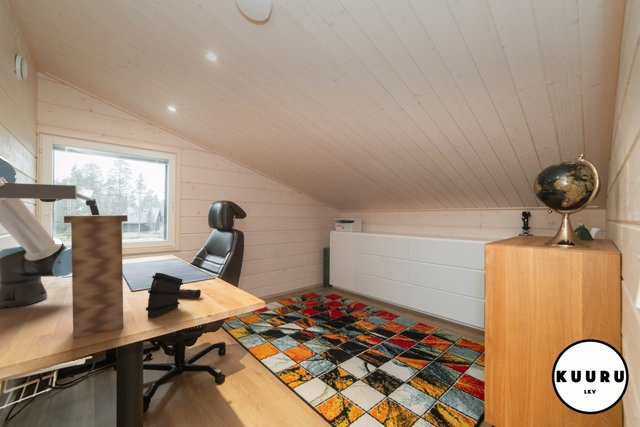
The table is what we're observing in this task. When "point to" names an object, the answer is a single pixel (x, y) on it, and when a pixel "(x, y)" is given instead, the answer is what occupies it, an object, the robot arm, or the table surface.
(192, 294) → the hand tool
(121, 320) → the walnut stand
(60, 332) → the table surface
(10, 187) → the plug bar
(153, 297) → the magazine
